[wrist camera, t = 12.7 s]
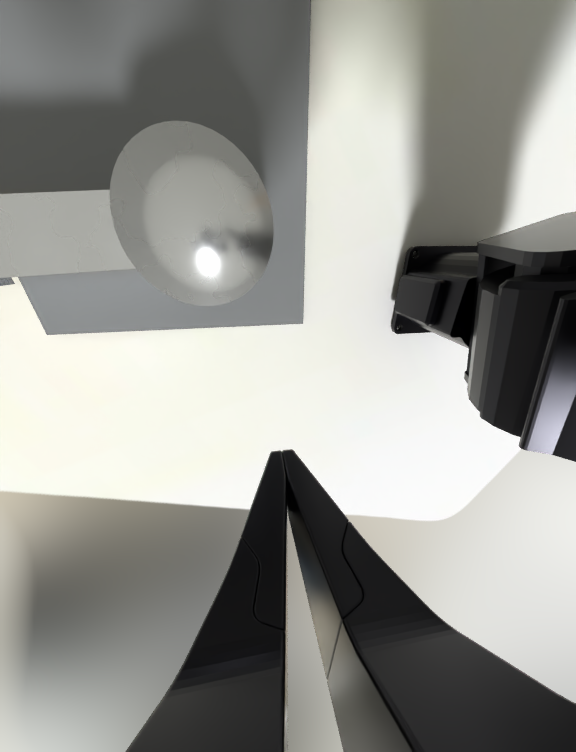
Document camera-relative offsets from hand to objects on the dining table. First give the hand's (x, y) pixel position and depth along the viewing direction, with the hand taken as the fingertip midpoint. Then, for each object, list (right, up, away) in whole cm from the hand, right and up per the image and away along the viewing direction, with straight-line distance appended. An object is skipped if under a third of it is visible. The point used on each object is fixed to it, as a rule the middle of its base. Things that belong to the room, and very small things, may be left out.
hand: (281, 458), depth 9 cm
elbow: (-9, +11, +5) cm, 15 cm away
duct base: (-8, +14, +5) cm, 17 cm away
